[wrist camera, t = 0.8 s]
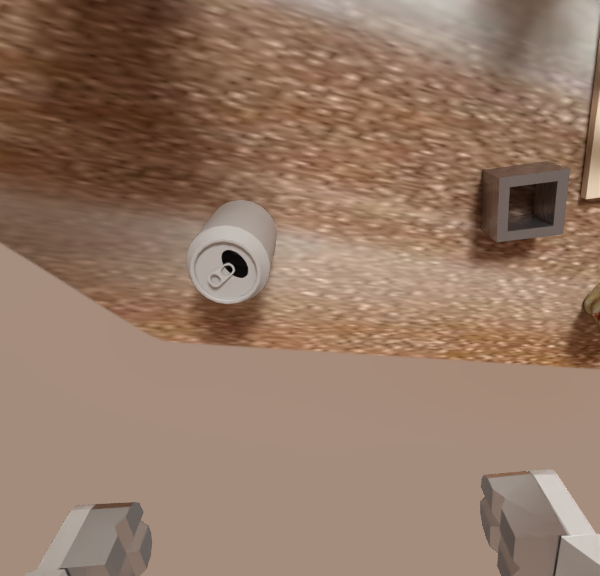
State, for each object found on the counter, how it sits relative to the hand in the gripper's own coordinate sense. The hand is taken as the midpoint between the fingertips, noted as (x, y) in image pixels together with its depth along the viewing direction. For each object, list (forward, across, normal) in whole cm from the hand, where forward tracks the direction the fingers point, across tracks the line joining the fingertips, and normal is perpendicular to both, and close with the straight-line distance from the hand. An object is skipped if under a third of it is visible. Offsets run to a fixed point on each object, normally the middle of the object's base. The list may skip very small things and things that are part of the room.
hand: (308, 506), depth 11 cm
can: (+40, +8, +4) cm, 41 cm away
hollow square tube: (+40, -21, +4) cm, 45 cm away
